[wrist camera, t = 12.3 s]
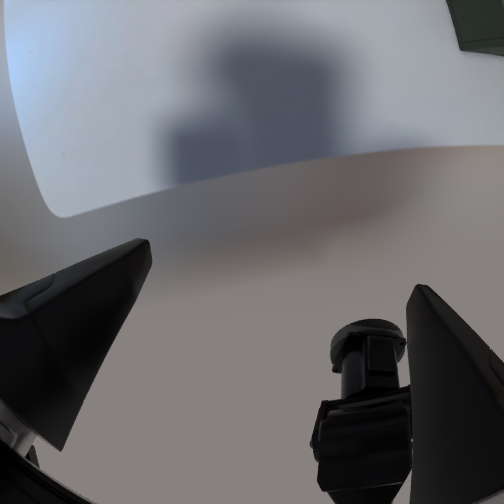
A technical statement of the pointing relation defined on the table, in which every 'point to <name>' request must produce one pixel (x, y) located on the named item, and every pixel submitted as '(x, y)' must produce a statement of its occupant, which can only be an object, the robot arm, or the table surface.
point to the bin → (479, 25)
